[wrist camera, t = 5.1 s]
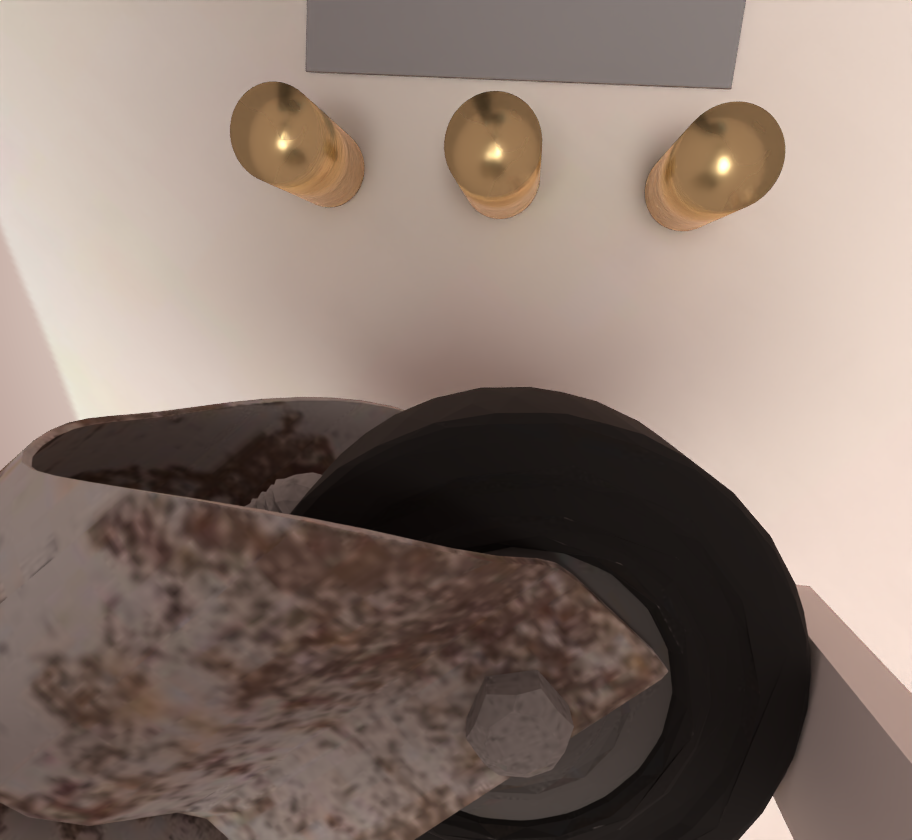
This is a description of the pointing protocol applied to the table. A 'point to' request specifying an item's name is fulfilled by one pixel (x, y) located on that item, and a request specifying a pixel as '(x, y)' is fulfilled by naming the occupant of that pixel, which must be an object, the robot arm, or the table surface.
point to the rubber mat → (530, 40)
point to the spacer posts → (509, 155)
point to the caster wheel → (388, 628)
